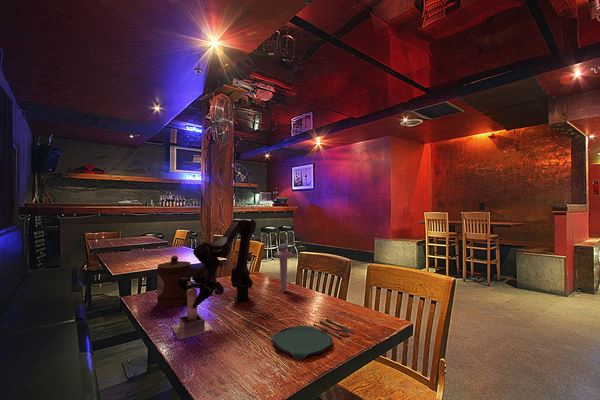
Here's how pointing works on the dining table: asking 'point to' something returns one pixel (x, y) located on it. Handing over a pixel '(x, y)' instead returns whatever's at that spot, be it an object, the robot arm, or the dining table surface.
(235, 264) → the ammunition clip
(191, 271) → the robot arm
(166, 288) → the wooden container
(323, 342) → the cutlery set
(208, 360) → the dining table surface
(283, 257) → the novelty light stick
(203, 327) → the cup bracket
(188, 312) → the wooden post
